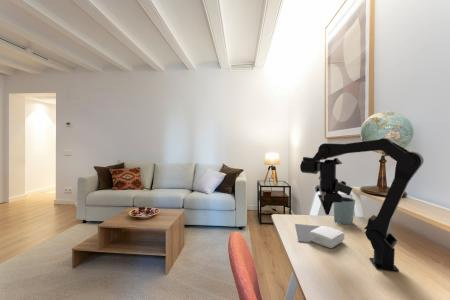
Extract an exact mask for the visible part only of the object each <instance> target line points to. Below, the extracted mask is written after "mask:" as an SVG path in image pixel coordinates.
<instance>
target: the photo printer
mask: <svg viewBox="0 0 450 300" xmlns="http://www.w3.org/2000/svg"><path fill="white" fill-rule="evenodd" d="M319 226H320V227H318V228H316V229H314V230H312V231H310V233H309V235H308V236H309V239H310V240H311V241H313V242H315V243H318V244H317V245H321V246H324V247H326V248H329V249H333V248H335V247H336V246H337V245H339V244H340V243H342V242H343V241H344V239H345V233H344V232H342V231H341V230H338V229H336V228H333V227H330V226H325V225H319Z"/></svg>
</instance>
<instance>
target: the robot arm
mask: <svg viewBox="0 0 450 300" xmlns="http://www.w3.org/2000/svg"><path fill="white" fill-rule="evenodd" d="M375 151H381V152H383V153H385V154H386V155H387V156H389V158H391V159H392V160H394V161H396V165H395V168H394V178H393V180H392V182H391V185H390V187H389V189H388V191H387V193H386V196H385V198H384V200H383V202H382V205H381V207H380V209H379V211H378V214H377V215H374V214H372V215H371V216H370V217H369V218H368V220H367V224H366V226H365V227H364V230H365V233H364V234H365V236H366V238H367V240H368V241H369V242H370V244H371V247H372V250H373V257H369V261H370V262H371V263H372V265H373V266H374V267H375V269H377V270H385V271H389V272H390V271H391V272H400V269H399V268H398V267H397V266H396V265H395V254H396V252H395V251H396V249H395V246H396V245H397V243H398V240H397V238H396V237H395V236H394V235H393V234H392V233H391V230H392V224H393V223H392V222H393V221H392V220H393V217H394V215H395V213H396V211H397V209H398V207H399V204H400V202H401V200H402V198H403V196H404V193H405V192H406V189H407V186H408V185H409V183H410V181H411V180H412V179H413V177H414V176H415V175H416V174H417V173H418V171H419V170H420V168H421V167H423V164H424V162H425V161H424V157H423V156H422V154H421V153H419V152H416V151H409V150H407V149H406V148H404V147H403V146H401V145H399V144H398V143H395V142H394V141H393V140H391V139H390V138H385V137H384V138H383V137H382V138H379V139H373V140H366V141H365V140H364V141H357V142H350V143H349V142H348V143H322V144H320V145H319V146H318V149H317V152H316V153H315V155H313V157H310V156H303V157H302V160H301V162H300V164H299V168H300V169H299V170H300V171H301V173H303V174H314V175H317V174H318V173H319V176H318V180H319V184H317V185H316V186H315V189H314V190H315V193H318V192H319V194H317V197H318V199H319V201H320V204H321V206H322V208H323V212H324V213H325V215H326V216H328V215H330V214H331V213H330V212H331V211H332V210H331V209H332V207H333V205H334V203H333V202H343V197H344V196H342V195H341V194H340V193H343V194H345V195H347V196H351V193H352V191H353V187H351V186H350V185H348V184H347V182H346V181H345V180H340V181H339V180H338V178H337V165H342V164H343V162H342V161H341V160H340V159H339V158H338V157H339V156H340V157H341V156H343V155H346V154H355V153H356V154H357V153H363V152H364V153H365V152H375ZM332 158H333V159H332ZM323 160H324V161H323ZM339 192H340V193H339Z"/></svg>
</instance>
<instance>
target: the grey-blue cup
mask: <svg viewBox="0 0 450 300" xmlns="http://www.w3.org/2000/svg"><path fill="white" fill-rule="evenodd" d="M342 197H343V202H333V220H334V222H335V223H337V224H341V225H348V226H349V225H352V224H353V223H354V212H355V204H356V199H354V198H351V197H346V196H342Z"/></svg>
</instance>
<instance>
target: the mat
mask: <svg viewBox="0 0 450 300" xmlns="http://www.w3.org/2000/svg"><path fill="white" fill-rule="evenodd" d="M294 225H295V229H296V230H295V231H296V234H297V235H296V236H297V241H298V243H303V244H313V245H319V244H318V243H315V242H313V241H311V240H310V239H309V236H308V235H309V233H310V231H312V230H314V229H316V228H318V227H320V226H321V225H310V224H309V225H308V224H301V223H300V224H299V223H295V224H294Z"/></svg>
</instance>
